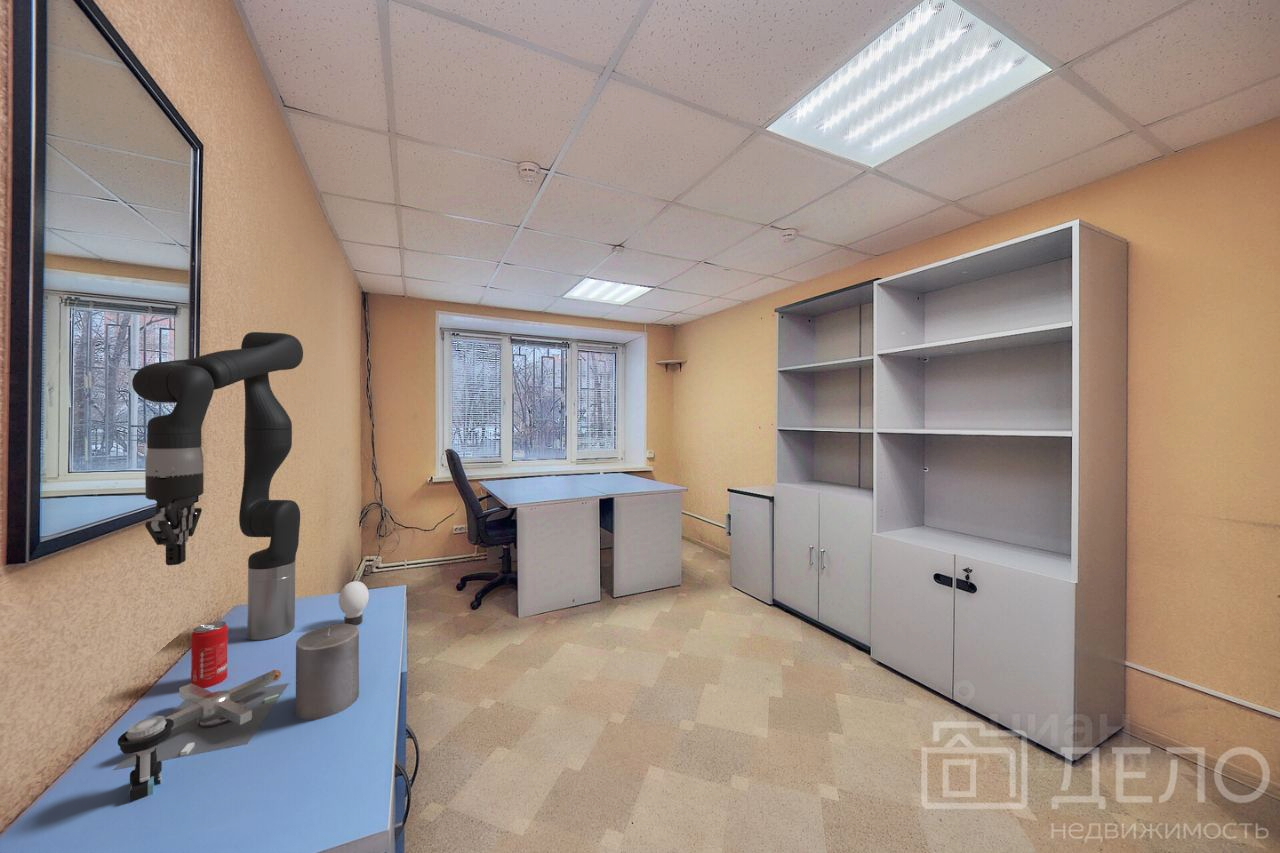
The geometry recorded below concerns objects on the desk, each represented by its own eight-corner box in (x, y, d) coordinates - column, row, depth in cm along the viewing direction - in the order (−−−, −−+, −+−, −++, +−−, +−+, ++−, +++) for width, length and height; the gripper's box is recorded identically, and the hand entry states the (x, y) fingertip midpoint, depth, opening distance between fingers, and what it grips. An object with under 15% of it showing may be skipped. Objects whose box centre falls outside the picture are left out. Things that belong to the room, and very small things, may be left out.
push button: (121, 787, 64) (122, 718, 64) (174, 768, 68) (175, 703, 68) (113, 817, 59) (114, 742, 59) (171, 794, 63) (172, 724, 63)
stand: (185, 705, 83) (185, 696, 83) (289, 687, 89) (289, 679, 89) (112, 776, 66) (113, 765, 66) (247, 749, 72) (247, 739, 72)
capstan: (167, 776, 65) (168, 749, 65) (107, 739, 72) (107, 715, 72) (311, 700, 83) (311, 679, 83) (251, 677, 91) (251, 657, 91)
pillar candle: (317, 693, 87) (316, 617, 87) (369, 691, 88) (369, 616, 88) (281, 727, 77) (281, 642, 77) (340, 724, 78) (340, 640, 78)
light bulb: (340, 631, 113) (341, 588, 113) (336, 622, 118) (336, 581, 118) (371, 624, 117) (371, 582, 117) (365, 615, 122) (366, 575, 122)
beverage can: (204, 695, 86) (205, 633, 86) (183, 692, 87) (184, 630, 87) (233, 680, 91) (234, 622, 91) (214, 677, 92) (214, 619, 92)
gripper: (170, 468, 88) (170, 555, 88) (123, 477, 76) (123, 578, 76) (219, 467, 91) (219, 551, 91) (180, 475, 78) (181, 573, 79)
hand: (175, 563), depth 84 cm, fingers closed
